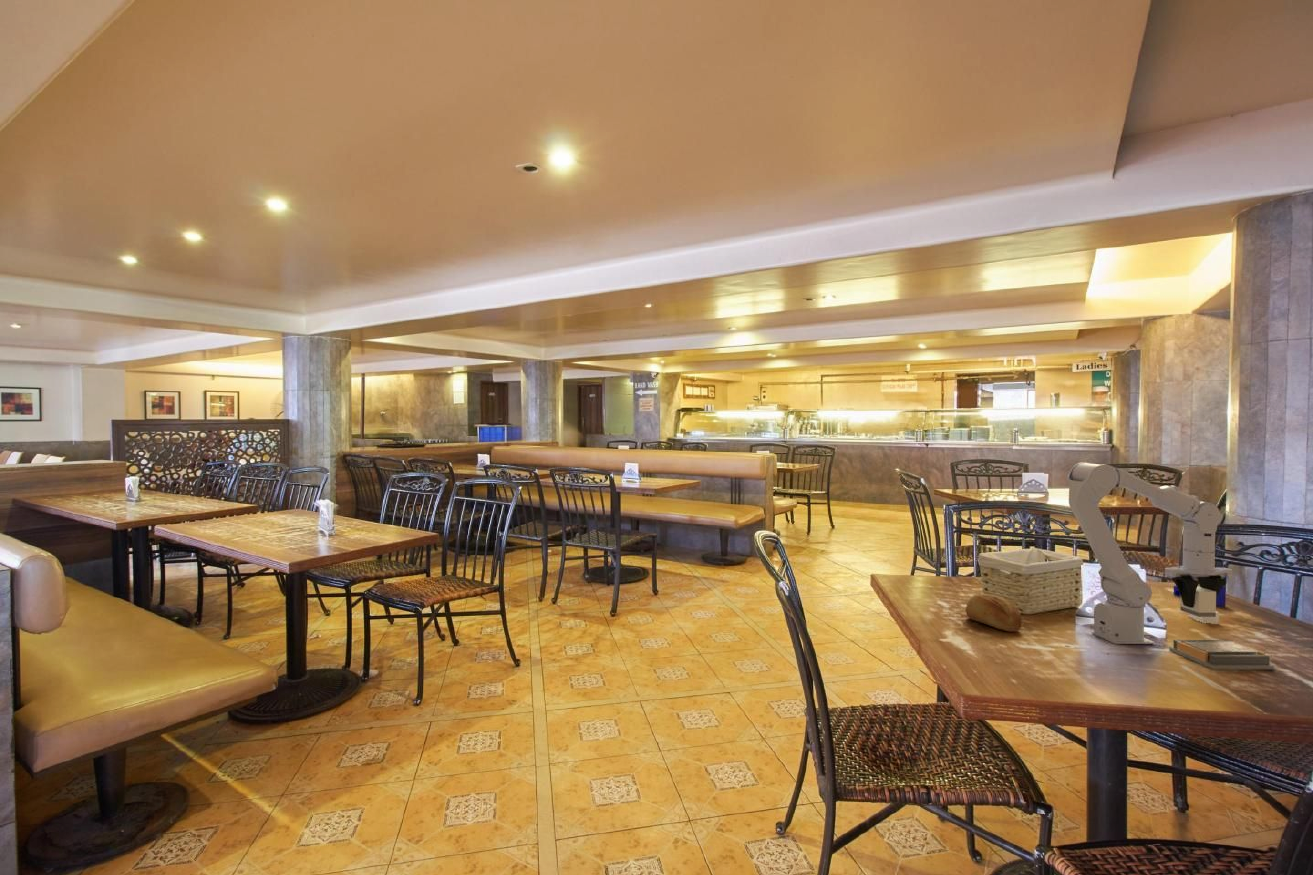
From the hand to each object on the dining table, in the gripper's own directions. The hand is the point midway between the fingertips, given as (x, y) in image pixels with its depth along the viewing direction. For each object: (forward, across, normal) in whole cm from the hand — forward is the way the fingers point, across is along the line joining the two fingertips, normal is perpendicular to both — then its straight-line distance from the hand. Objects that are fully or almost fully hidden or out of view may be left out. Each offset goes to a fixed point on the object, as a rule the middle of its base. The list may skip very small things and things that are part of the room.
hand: (1197, 606), depth 144 cm
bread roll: (+9, -43, +12) cm, 45 cm away
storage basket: (+9, -22, +30) cm, 38 cm away
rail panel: (+9, -5, -11) cm, 15 cm away
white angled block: (+9, +16, +16) cm, 24 cm away
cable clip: (+9, +31, +34) cm, 47 cm away
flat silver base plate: (+7, -5, -11) cm, 14 cm away
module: (+2, 0, 0) cm, 2 cm away
